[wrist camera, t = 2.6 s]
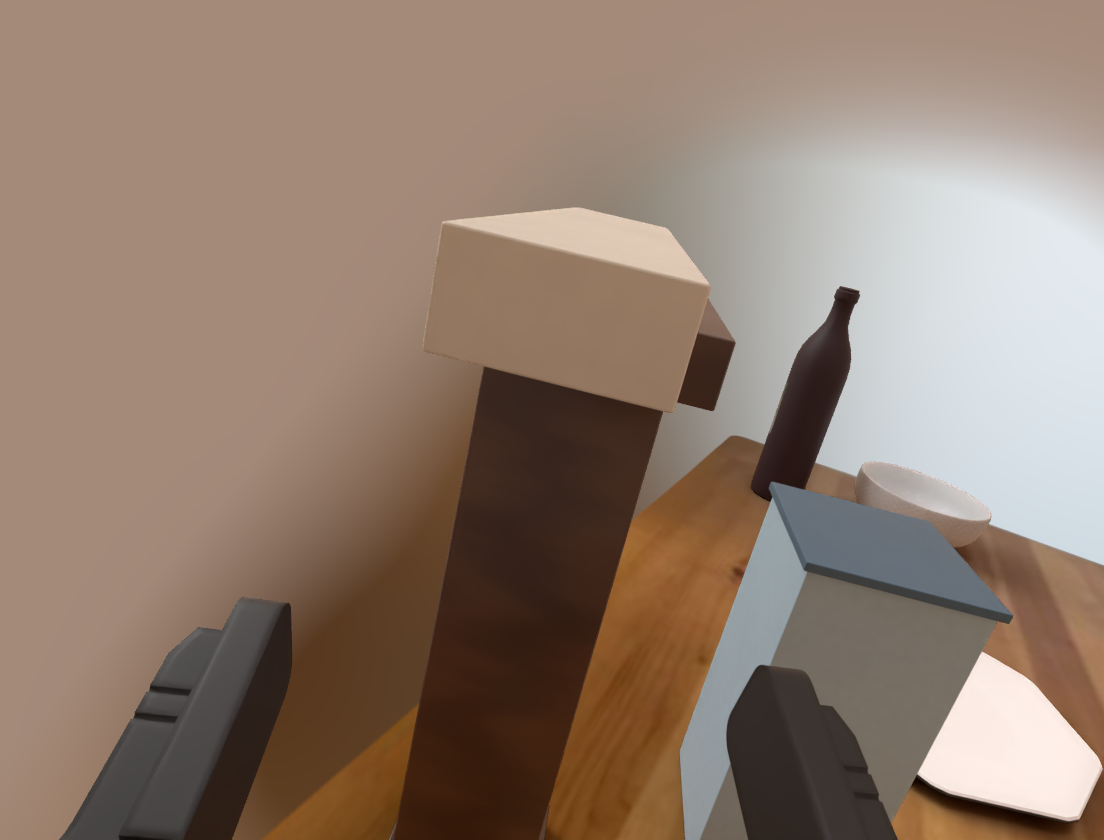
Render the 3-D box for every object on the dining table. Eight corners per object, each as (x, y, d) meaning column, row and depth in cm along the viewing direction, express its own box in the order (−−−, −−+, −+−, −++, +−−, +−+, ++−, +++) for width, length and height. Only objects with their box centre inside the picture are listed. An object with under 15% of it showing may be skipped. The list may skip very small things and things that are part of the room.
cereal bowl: (982, 583, 84) (1007, 534, 81) (844, 535, 88) (864, 487, 86) (957, 530, 99) (978, 488, 97) (841, 491, 104) (858, 450, 101)
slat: (420, 352, 10) (440, 220, 10) (565, 253, 29) (576, 206, 29) (673, 415, 10) (711, 284, 10) (655, 275, 29) (668, 228, 28)
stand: (322, 1016, 29) (443, 270, 18) (414, 785, 40) (521, 243, 29) (503, 1072, 28) (736, 341, 18) (544, 823, 39) (701, 286, 29)
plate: (837, 783, 47) (844, 767, 47) (762, 593, 70) (767, 581, 69) (1164, 859, 47) (1175, 844, 47) (984, 645, 70) (991, 633, 69)
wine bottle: (791, 489, 100) (865, 290, 90) (805, 510, 93) (887, 299, 83) (745, 478, 100) (814, 279, 90) (756, 499, 93) (832, 286, 83)
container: (681, 875, 38) (807, 562, 31) (675, 746, 47) (771, 480, 40) (849, 923, 38) (1014, 615, 31) (809, 783, 47) (930, 521, 40)
